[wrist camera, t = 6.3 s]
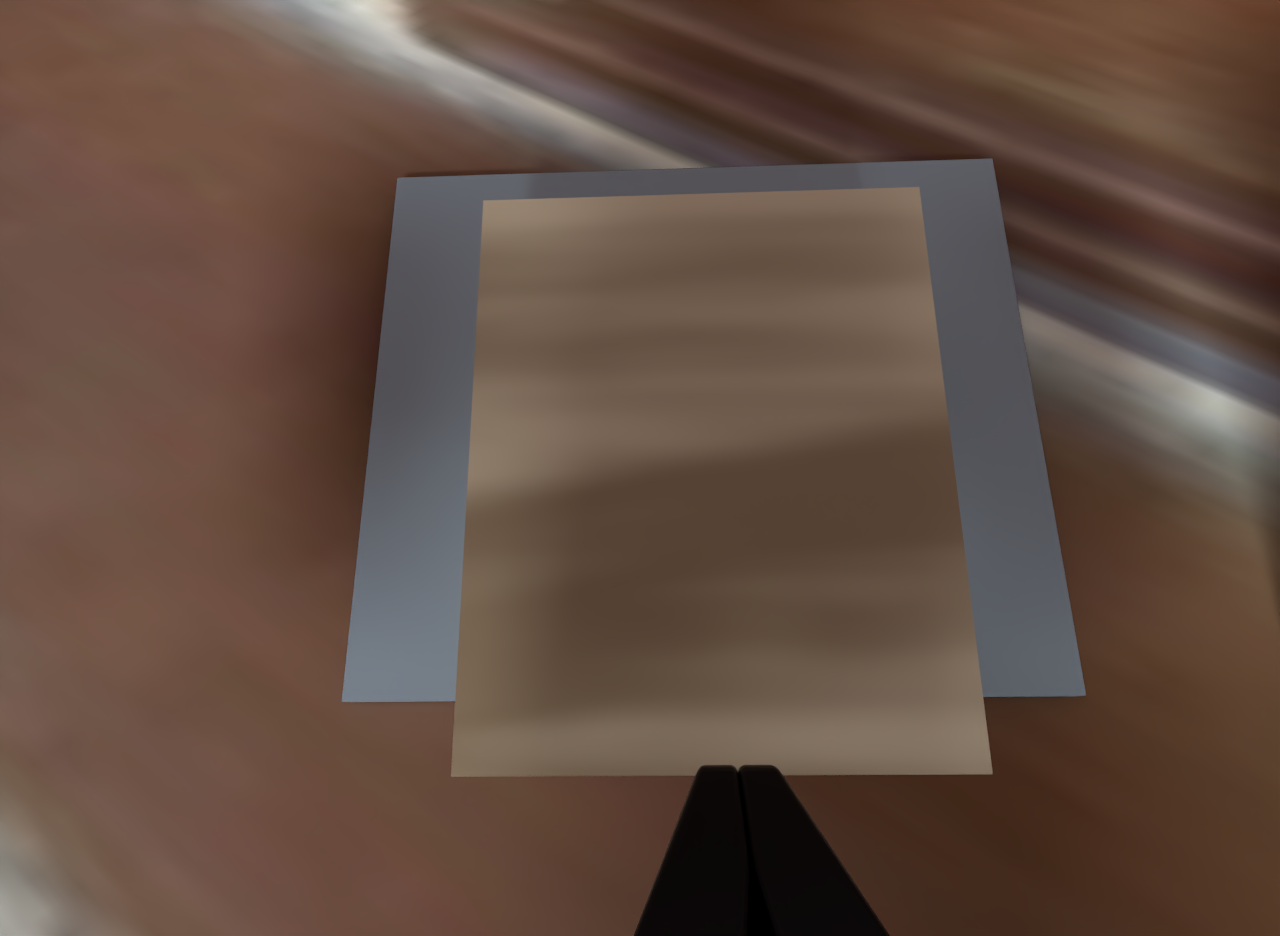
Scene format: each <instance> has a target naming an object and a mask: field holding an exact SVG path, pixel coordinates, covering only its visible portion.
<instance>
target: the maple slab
mask: <svg viewBox="0 0 1280 936" xmlns="http://www.w3.org/2000/svg"><path fill="white" fill-rule="evenodd" d="M703 765H733V766H734V767H736V769H737V771H738V769H739V768H740V767H741V766H743V765H773V766H775V767H777V768H778V769H779V770H780V772H781V773H782V775H948V774H993V772H992V764H991V756H990V748H989V740H988V732H987V724H986V716H985V708H984V700H983V692H982V684H981V676H980V668H979V660H978V652H977V644H976V636H975V628H974V620H973V612H972V604H971V596H970V588H969V580H968V572H967V564H966V556H965V548H964V540H963V532H962V524H961V516H960V508H959V500H958V492H957V484H956V476H955V468H954V460H953V452H952V444H951V436H950V428H949V420H948V412H947V404H946V396H945V388H944V380H943V372H942V364H941V356H940V348H939V340H938V332H937V324H936V316H935V308H934V300H933V292H932V284H931V276H930V268H929V260H928V252H927V244H926V236H925V228H924V220H923V212H922V204H921V196H920V188H919V187H901V188H869V189H836V190H804V191H772V192H740V193H708V194H675V195H643V196H611V197H579V198H547V199H514V200H483V215H482V233H481V251H480V269H479V286H478V304H477V322H476V340H475V358H474V376H473V393H472V411H471V429H470V447H469V465H468V482H467V500H466V518H465V536H464V554H463V571H462V589H461V607H460V625H459V643H458V660H457V678H456V696H455V714H454V732H453V750H452V767H451V777H487V776H695V775H696V773H697V771H698V769H699V768H700V767H701V766H703Z"/></svg>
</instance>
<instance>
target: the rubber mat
mask: <svg viewBox="0 0 1280 936" xmlns="http://www.w3.org/2000/svg"><path fill="white" fill-rule="evenodd" d="M901 187H919V188H920V196H921V204H922V212H923V220H924V228H925V236H926V244H927V252H928V260H929V268H930V276H931V284H932V292H933V300H934V308H935V316H936V324H937V332H938V340H939V348H940V356H941V364H942V372H943V380H944V388H945V396H946V404H947V412H948V420H949V428H950V436H951V444H952V452H953V460H954V468H955V476H956V484H957V492H958V500H959V508H960V516H961V524H962V532H963V540H964V548H965V556H966V564H967V572H968V580H969V588H970V596H971V604H972V612H973V620H974V628H975V636H976V644H977V652H978V660H979V668H980V676H981V684H982V692H983V697H1054V696H1086V692H1085V686H1084V680H1083V675H1082V669H1081V663H1080V657H1079V652H1078V646H1077V640H1076V635H1075V629H1074V623H1073V617H1072V612H1071V606H1070V600H1069V594H1068V589H1067V583H1066V577H1065V572H1064V566H1063V560H1062V554H1061V549H1060V543H1059V537H1058V531H1057V526H1056V520H1055V514H1054V509H1053V503H1052V497H1051V491H1050V486H1049V480H1048V474H1047V468H1046V463H1045V457H1044V451H1043V446H1042V440H1041V434H1040V428H1039V423H1038V417H1037V411H1036V405H1035V400H1034V394H1033V388H1032V383H1031V377H1030V371H1029V365H1028V360H1027V354H1026V348H1025V342H1024V337H1023V331H1022V325H1021V319H1020V314H1019V308H1018V302H1017V297H1016V291H1015V285H1014V279H1013V274H1012V268H1011V262H1010V256H1009V251H1008V245H1007V239H1006V234H1005V228H1004V222H1003V216H1002V211H1001V205H1000V199H999V193H998V188H997V182H996V176H995V171H994V165H993V159H962V160H931V161H900V162H869V163H838V164H807V165H776V166H745V167H714V168H683V169H652V170H621V171H590V172H559V173H528V174H497V175H466V176H435V177H404V178H397V186H396V195H395V205H394V214H393V224H392V233H391V243H390V252H389V261H388V271H387V280H386V290H385V299H384V308H383V318H382V327H381V337H380V346H379V356H378V365H377V374H376V384H375V393H374V403H373V412H372V421H371V431H370V440H369V450H368V459H367V469H366V478H365V487H364V497H363V506H362V516H361V525H360V534H359V544H358V553H357V563H356V572H355V582H354V591H353V600H352V610H351V619H350V629H349V638H348V647H347V657H346V666H345V676H344V685H343V695H342V702H415V701H455V696H456V678H457V660H458V643H459V625H460V607H461V589H462V571H463V554H464V536H465V518H466V500H467V482H468V465H469V447H470V429H471V411H472V393H473V376H474V358H475V340H476V322H477V304H478V286H479V269H480V251H481V233H482V215H483V200H514V199H547V198H579V197H611V196H643V195H675V194H708V193H740V192H772V191H804V190H836V189H869V188H901Z"/></svg>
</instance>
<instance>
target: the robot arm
mask: <svg viewBox="0 0 1280 936" xmlns="http://www.w3.org/2000/svg"><path fill="white" fill-rule="evenodd" d="M634 936H890V935H889V934H888V932H887V931H886V929H885V928H884V926H883V925H882V923H881V922H880V920H879V919H878V917H877V916H876V914H875V913H874V911H873V910H872V908H871V907H870V905H869V904H868V902H867V901H866V899H865V898H864V896H863V895H862V893H861V892H860V890H859V889H858V887H857V886H856V884H855V883H854V881H853V880H852V878H851V877H850V875H849V874H848V872H847V871H846V869H845V868H844V866H843V865H842V863H841V862H840V860H839V859H838V857H837V856H836V854H835V853H834V851H833V850H832V848H831V847H830V845H829V844H828V842H827V841H826V839H825V838H824V836H823V835H822V833H821V832H820V830H819V829H818V827H817V826H816V824H815V823H814V821H813V820H812V818H811V817H810V815H809V814H808V812H807V811H806V809H805V808H804V806H803V805H802V803H801V802H800V800H799V799H798V797H797V796H796V794H795V793H794V791H793V790H792V788H791V787H790V785H789V784H788V782H787V781H786V779H785V778H784V776H783V775H782V773H781V772H780V770H779V769H778V768H777V767H775V766H773V765H743V766H741V767H740V768H739V769H738V771H737V769H736V767H734V766H733V765H703V766H701V767H700V768H699V769H698V771H697V773H696V775H695V778H694V781H693V783H692V786H691V788H690V791H689V793H688V796H687V799H686V801H685V804H684V806H683V809H682V812H681V814H680V817H679V819H678V822H677V825H676V827H675V830H674V832H673V835H672V838H671V840H670V843H669V845H668V848H667V851H666V853H665V856H664V858H663V861H662V864H661V866H660V869H659V871H658V874H657V877H656V879H655V882H654V884H653V887H652V890H651V892H650V895H649V897H648V900H647V903H646V905H645V908H644V910H643V913H642V916H641V918H640V921H639V923H638V926H637V929H636V931H635V934H634Z"/></svg>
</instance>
